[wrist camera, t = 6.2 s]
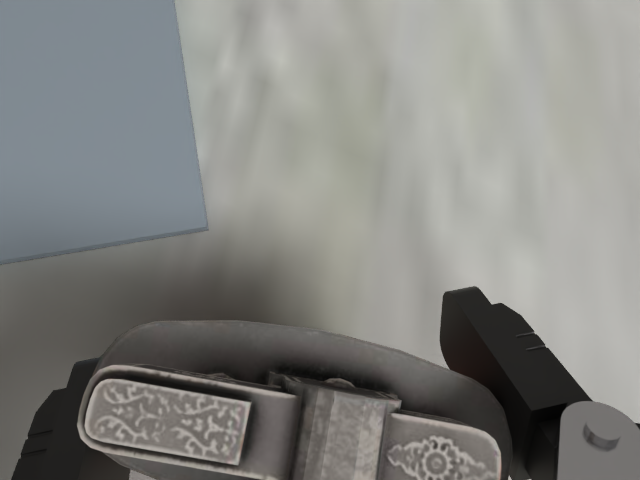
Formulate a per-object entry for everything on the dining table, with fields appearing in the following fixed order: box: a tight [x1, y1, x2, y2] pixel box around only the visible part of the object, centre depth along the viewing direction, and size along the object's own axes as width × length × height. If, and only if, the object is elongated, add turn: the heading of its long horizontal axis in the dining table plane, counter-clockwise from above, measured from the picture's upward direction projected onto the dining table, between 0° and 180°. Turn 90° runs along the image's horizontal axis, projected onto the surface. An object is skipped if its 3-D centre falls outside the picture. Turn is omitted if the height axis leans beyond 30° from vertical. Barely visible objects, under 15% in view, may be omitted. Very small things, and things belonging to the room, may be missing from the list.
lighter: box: [77, 320, 513, 480], centre depth 11 cm, size 8×3×10 cm, turn 80°
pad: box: [0, 0, 209, 264], centre depth 18 cm, size 12×12×1 cm
